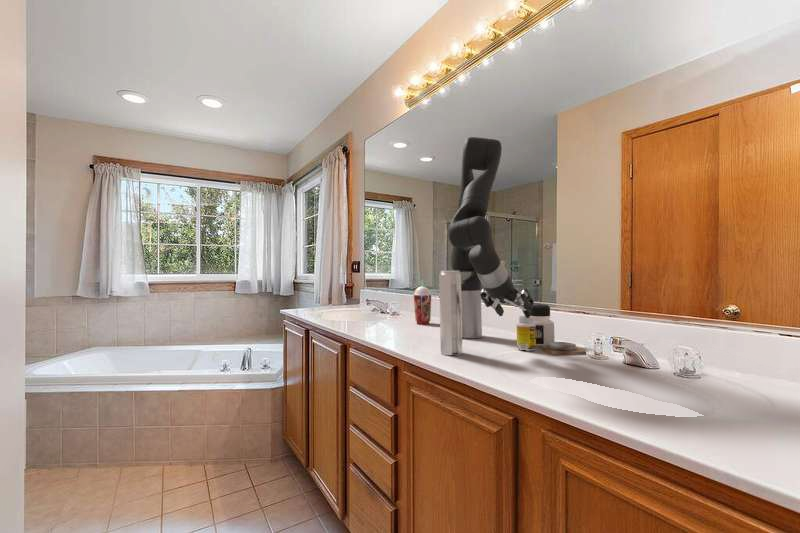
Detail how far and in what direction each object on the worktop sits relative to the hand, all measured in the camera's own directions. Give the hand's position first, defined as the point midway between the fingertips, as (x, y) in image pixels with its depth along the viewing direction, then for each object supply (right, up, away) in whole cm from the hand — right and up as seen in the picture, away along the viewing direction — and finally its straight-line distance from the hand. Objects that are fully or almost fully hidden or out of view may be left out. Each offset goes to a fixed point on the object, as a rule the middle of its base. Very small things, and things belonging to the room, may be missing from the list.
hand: (515, 314), depth 115 cm
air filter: (-18, -12, +3) cm, 22 cm away
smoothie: (-23, -12, +66) cm, 71 cm away
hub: (+15, -11, +3) cm, 19 cm away
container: (+12, -12, +14) cm, 22 cm away
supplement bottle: (+5, -12, +5) cm, 14 cm away
